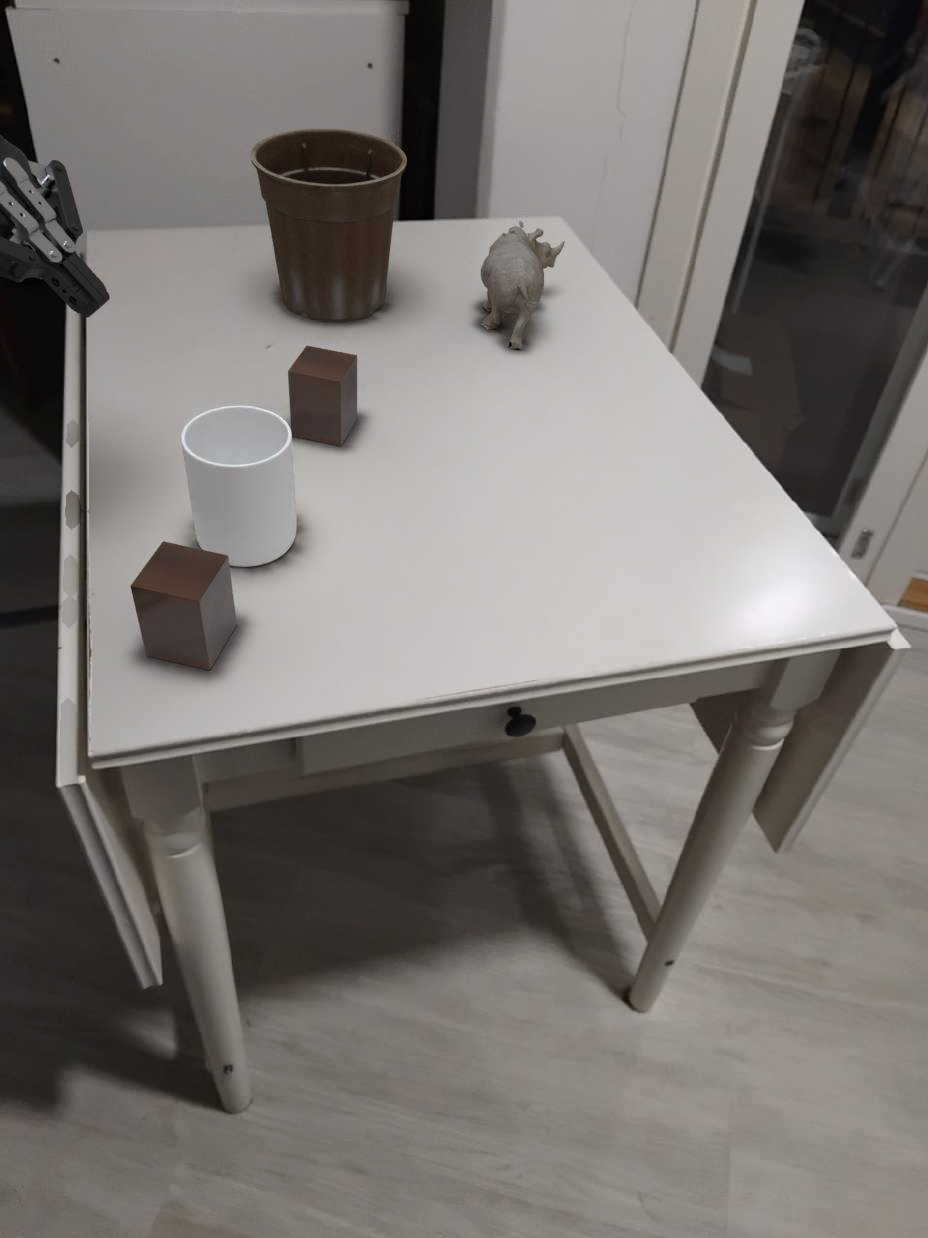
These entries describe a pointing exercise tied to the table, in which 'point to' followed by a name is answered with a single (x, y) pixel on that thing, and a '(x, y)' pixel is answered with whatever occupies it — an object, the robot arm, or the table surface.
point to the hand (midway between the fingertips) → (98, 307)
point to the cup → (241, 483)
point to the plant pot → (330, 217)
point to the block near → (185, 605)
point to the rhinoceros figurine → (516, 278)
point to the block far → (323, 395)
